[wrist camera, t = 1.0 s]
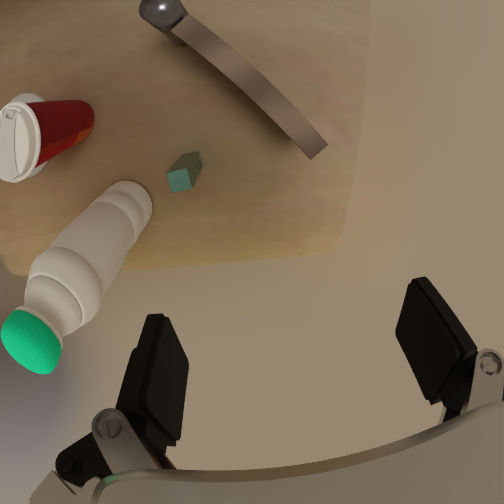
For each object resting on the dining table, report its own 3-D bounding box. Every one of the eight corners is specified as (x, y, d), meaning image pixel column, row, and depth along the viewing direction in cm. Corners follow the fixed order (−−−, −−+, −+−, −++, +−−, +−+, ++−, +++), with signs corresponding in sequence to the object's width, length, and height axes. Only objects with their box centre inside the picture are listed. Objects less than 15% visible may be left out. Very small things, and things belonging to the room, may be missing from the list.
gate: (189, 48, 24) (170, 30, 16) (202, 35, 23) (188, 14, 15) (291, 142, 30) (310, 159, 22) (304, 131, 29) (328, 144, 22)
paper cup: (63, 87, 24) (-12, 98, 13) (109, 99, 26) (39, 110, 15) (49, 142, 28) (-21, 176, 16) (92, 157, 30) (26, 197, 18)
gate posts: (172, 26, 23) (139, -6, 12) (199, 22, 23) (178, -14, 12) (183, 171, 32) (156, 210, 22) (207, 169, 32) (192, 207, 22)
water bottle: (158, 185, 33) (54, 342, 11) (149, 234, 36) (75, 399, 15) (108, 174, 31) (-28, 302, 10) (103, 221, 35) (3, 365, 13)
